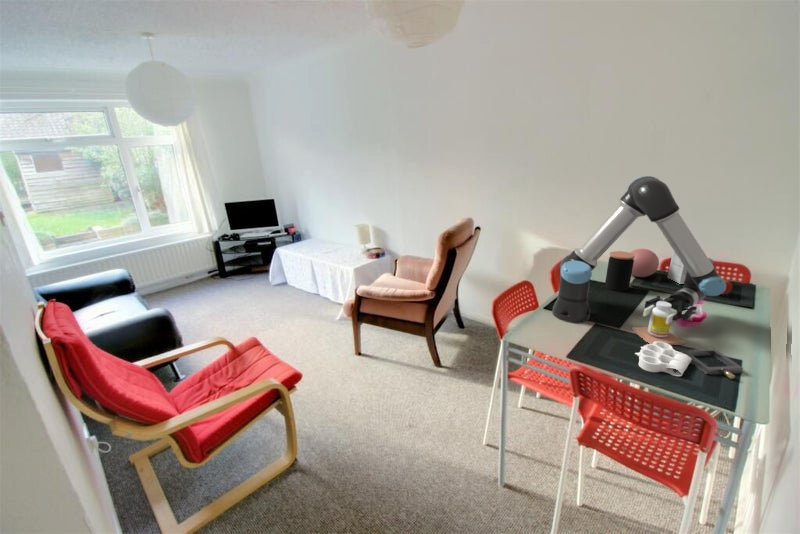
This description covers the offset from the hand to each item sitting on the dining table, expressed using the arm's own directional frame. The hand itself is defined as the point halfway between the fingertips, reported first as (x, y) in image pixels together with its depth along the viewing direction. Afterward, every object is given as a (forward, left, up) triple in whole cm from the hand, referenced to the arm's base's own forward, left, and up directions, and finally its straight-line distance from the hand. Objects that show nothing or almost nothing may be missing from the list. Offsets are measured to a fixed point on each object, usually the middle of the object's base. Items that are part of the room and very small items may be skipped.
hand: (655, 316), depth 134 cm
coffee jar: (+15, +50, -11) cm, 53 cm away
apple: (+56, +37, -11) cm, 68 cm away
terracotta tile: (+4, +3, -10) cm, 12 cm away
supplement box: (+51, +54, -11) cm, 75 cm away
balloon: (+33, +65, -11) cm, 73 cm away
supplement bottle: (+4, +3, -9) cm, 11 cm away
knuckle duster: (-5, -13, -11) cm, 18 cm away
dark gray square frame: (+10, -17, -10) cm, 22 cm away
